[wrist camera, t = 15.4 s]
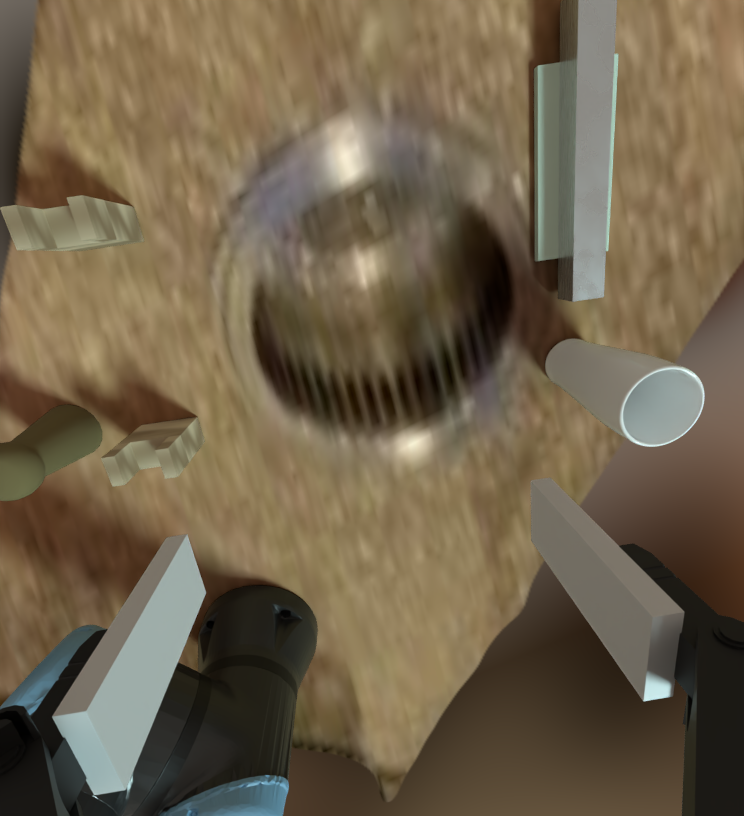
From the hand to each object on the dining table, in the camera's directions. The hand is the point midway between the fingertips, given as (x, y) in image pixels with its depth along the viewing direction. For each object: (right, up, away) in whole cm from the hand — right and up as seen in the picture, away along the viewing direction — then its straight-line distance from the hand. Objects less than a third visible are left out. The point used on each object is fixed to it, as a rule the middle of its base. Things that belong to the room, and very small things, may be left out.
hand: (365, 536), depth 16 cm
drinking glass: (+22, +10, +30) cm, 39 cm away
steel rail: (+19, +27, +23) cm, 40 cm away
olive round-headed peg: (-32, +3, +30) cm, 44 cm away
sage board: (+19, +28, +24) cm, 41 cm away
